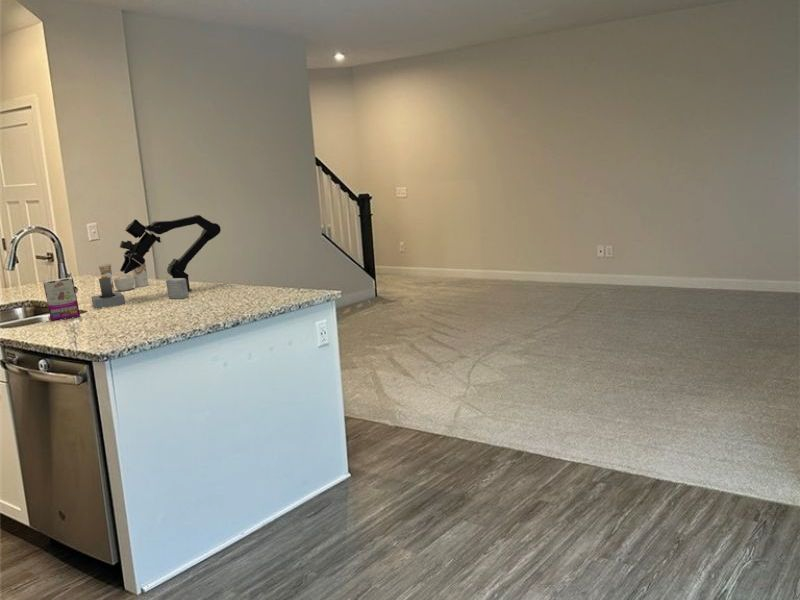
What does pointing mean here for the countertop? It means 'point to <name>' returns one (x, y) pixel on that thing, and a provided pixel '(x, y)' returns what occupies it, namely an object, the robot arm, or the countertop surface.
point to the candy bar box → (61, 298)
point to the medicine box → (177, 288)
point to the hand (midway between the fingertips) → (122, 272)
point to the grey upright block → (105, 286)
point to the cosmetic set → (127, 278)
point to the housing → (108, 300)
